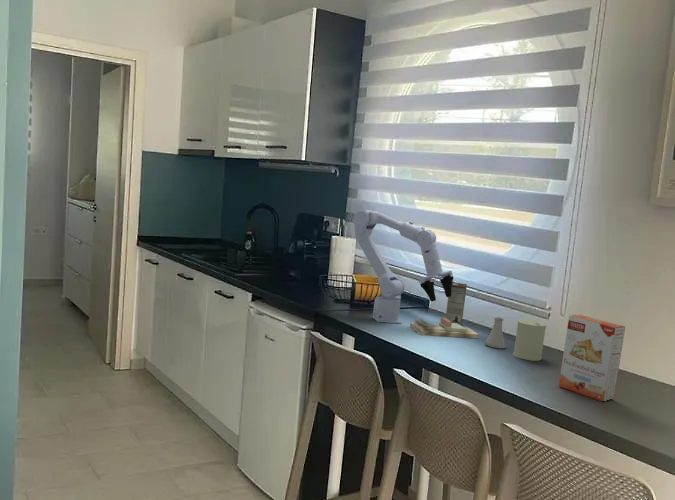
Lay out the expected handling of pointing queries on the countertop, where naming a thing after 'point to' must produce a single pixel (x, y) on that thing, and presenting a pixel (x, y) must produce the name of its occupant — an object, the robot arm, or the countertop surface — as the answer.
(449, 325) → the stub
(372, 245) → the robot arm
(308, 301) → the countertop surface
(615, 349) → the cracker box
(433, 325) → the ticket board
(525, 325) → the can
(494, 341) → the flask
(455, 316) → the coffee box
